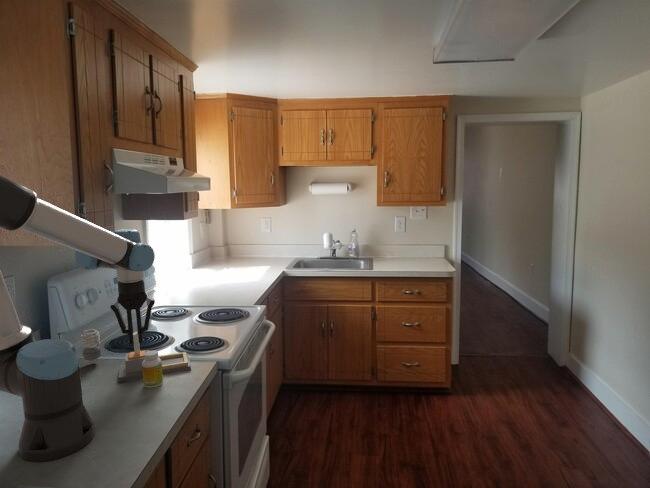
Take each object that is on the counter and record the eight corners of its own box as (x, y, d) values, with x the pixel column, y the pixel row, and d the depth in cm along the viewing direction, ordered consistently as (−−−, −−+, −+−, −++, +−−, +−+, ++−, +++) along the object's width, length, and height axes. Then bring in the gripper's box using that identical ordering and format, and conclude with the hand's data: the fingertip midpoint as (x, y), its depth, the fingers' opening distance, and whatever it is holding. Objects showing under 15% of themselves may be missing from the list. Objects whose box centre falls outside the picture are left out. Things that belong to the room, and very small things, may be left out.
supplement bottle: (159, 388, 132) (156, 356, 131) (140, 388, 132) (137, 356, 131) (165, 379, 137) (163, 349, 136) (147, 380, 137) (145, 349, 136)
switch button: (130, 368, 140) (129, 357, 140) (130, 362, 144) (129, 352, 144) (145, 365, 142) (145, 355, 141) (146, 360, 146) (145, 350, 145)
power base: (118, 382, 136) (117, 364, 136) (120, 368, 147) (119, 352, 146) (191, 370, 144) (189, 353, 143) (188, 357, 154) (187, 342, 153)
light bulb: (106, 360, 153) (102, 326, 151) (96, 367, 147) (92, 332, 146) (90, 360, 153) (86, 326, 152) (79, 367, 148) (75, 332, 146)
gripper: (153, 275, 145) (159, 345, 148) (108, 279, 140) (115, 352, 144) (153, 280, 138) (159, 354, 141) (106, 284, 133) (113, 360, 137)
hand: (137, 353), depth 143 cm, fingers closed
